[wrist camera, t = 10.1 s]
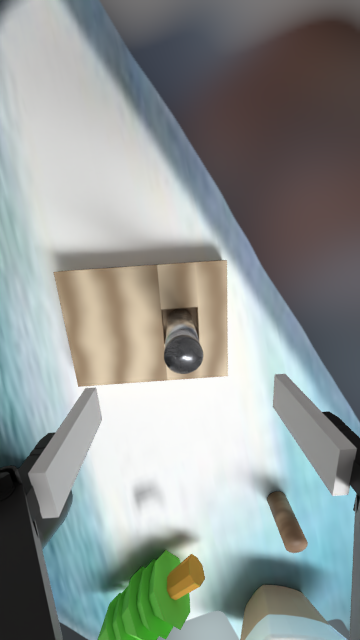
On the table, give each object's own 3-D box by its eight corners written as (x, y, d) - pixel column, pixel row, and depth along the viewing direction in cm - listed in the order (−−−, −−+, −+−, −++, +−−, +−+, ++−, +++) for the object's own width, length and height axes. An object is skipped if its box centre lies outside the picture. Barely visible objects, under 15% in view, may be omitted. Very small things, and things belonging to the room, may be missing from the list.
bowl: (212, 620, 59) (220, 696, 49) (251, 561, 53) (269, 634, 43) (291, 634, 62) (314, 709, 52) (336, 580, 56) (373, 652, 45)
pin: (168, 334, 36) (165, 375, 23) (166, 309, 35) (162, 339, 22) (193, 332, 36) (204, 372, 24) (191, 307, 35) (202, 336, 22)
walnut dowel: (266, 505, 48) (284, 553, 40) (267, 492, 47) (286, 538, 39) (285, 504, 48) (306, 551, 40) (286, 490, 47) (308, 536, 39)
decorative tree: (211, 632, 39) (97, 708, 43) (215, 564, 50) (124, 630, 54) (170, 572, 41) (63, 650, 45) (182, 520, 52) (96, 586, 56)
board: (85, 376, 38) (78, 386, 35) (63, 270, 33) (53, 272, 31) (223, 367, 39) (227, 376, 36) (222, 260, 34) (226, 260, 31)
